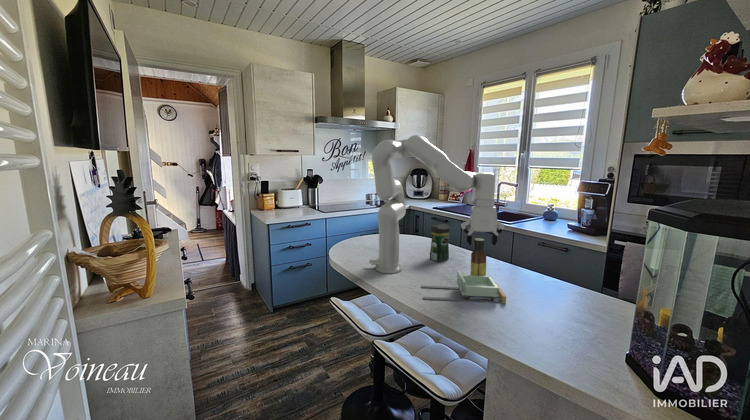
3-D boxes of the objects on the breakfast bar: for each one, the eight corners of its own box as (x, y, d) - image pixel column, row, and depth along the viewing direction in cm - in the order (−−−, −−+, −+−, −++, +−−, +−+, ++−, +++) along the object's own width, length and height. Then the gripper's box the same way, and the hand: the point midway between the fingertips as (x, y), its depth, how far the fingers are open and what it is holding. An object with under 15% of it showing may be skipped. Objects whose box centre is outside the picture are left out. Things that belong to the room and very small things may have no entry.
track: (423, 300, 113) (423, 293, 113) (420, 285, 126) (421, 278, 125) (505, 304, 111) (506, 296, 110) (494, 288, 124) (495, 281, 123)
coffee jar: (440, 255, 164) (442, 222, 160) (451, 260, 157) (453, 225, 153) (426, 258, 159) (428, 224, 155) (437, 263, 152) (438, 227, 149)
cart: (462, 299, 113) (463, 282, 112) (456, 286, 124) (457, 270, 122) (497, 300, 112) (499, 283, 111) (488, 287, 123) (490, 272, 122)
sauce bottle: (485, 282, 129) (488, 238, 126) (485, 288, 124) (489, 242, 120) (469, 280, 132) (472, 236, 128) (468, 286, 126) (472, 240, 122)
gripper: (463, 204, 118) (462, 246, 121) (509, 204, 117) (506, 247, 120) (460, 201, 125) (458, 241, 128) (502, 201, 124) (500, 242, 127)
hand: (481, 244), depth 124 cm, fingers open, 9 cm apart
